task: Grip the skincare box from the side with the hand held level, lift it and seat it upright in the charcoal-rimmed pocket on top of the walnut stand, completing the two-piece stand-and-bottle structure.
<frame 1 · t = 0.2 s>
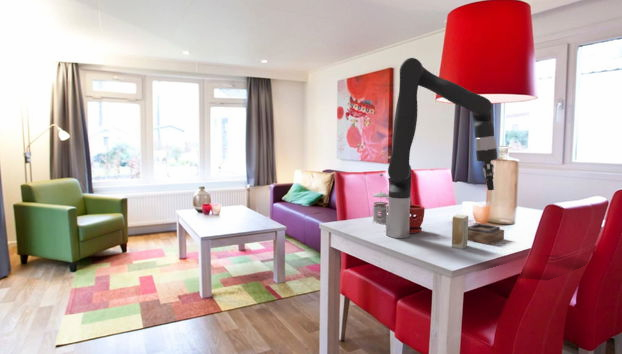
hand: (490, 188, 151), 22 cm above the table, tool pointing down, fingers open, 8 cm apart
walnut stand: (482, 239, 160), on the table
french press: (381, 221, 196), on the table
skincare box: (459, 247, 149), on the table
plant pot: (409, 231, 174), on the table
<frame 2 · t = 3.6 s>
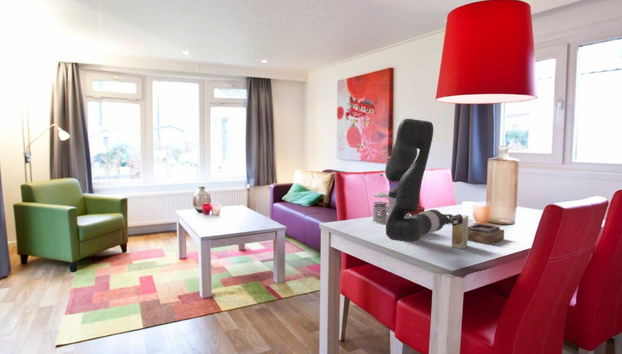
hand: (448, 215, 139), 14 cm above the table, tool horizontal, fingers open, 8 cm apart
nothing on the table moved.
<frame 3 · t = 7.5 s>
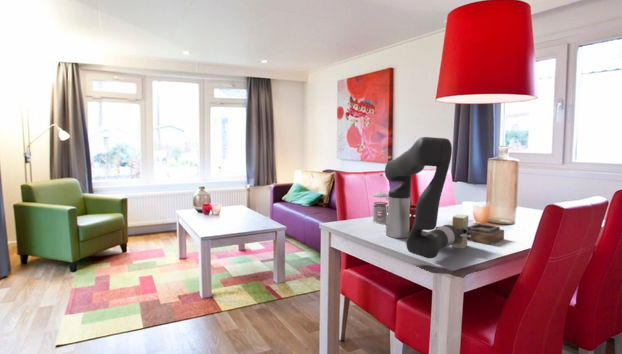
hand: (462, 228, 150), 7 cm above the table, tool horizontal, fingers closed on skincare box, 4 cm apart
skincare box: (459, 246, 149), on the table, touching gripper
everything else where it was.
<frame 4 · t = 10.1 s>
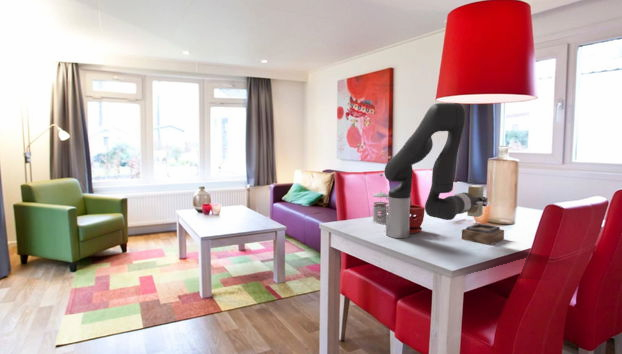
hand: (478, 198, 155), 18 cm above the table, tool horizontal, fingers closed on skincare box, 4 cm apart
skincare box: (474, 216, 154), point 11 cm above the table, touching gripper
everything else where it was.
when the fingers open (11 cm above the table, at t = 12.7 s): skincare box stays where it is, resting on walnut stand.
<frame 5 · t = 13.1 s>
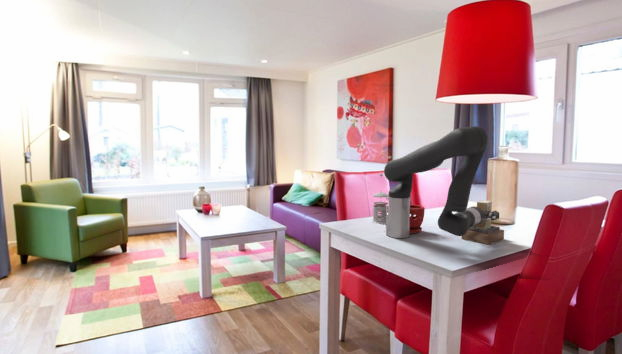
hand: (485, 211, 160), 12 cm above the table, tool horizontal, fingers open, 8 cm apart
skincare box: (483, 230, 159), point 4 cm above the table, touching walnut stand
everything else where it was.
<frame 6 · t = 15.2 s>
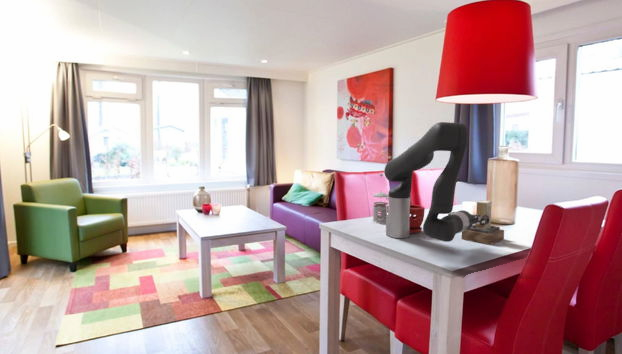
hand: (475, 215, 152), 11 cm above the table, tool horizontal, fingers open, 8 cm apart
nothing on the table moved.
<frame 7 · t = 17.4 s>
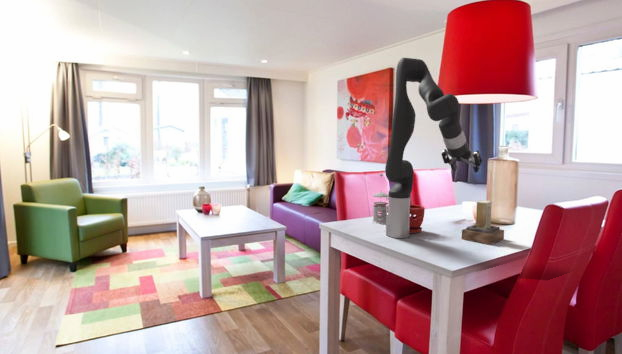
hand: (465, 170, 150), 30 cm above the table, tool tilted 45°, fingers open, 8 cm apart
nothing on the table moved.
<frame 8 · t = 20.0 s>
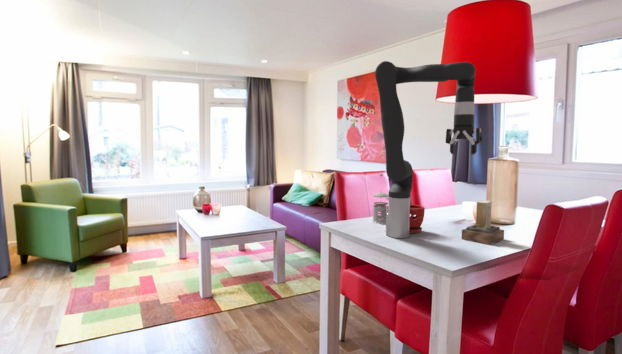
hand: (462, 154, 153), 36 cm above the table, tool pointing down, fingers open, 8 cm apart
nothing on the table moved.
at the end: skincare box 0.1 cm off-centre on the walnut stand, point 3.8 cm above the walnut stand's base; skincare box tilted 0°; the gripper is holding nothing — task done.
